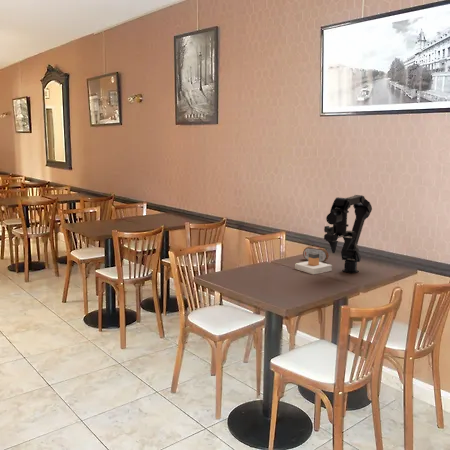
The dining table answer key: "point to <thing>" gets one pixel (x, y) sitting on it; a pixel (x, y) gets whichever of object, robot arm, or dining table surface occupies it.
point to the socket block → (313, 267)
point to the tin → (321, 251)
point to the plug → (313, 259)
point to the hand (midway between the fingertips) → (339, 252)
